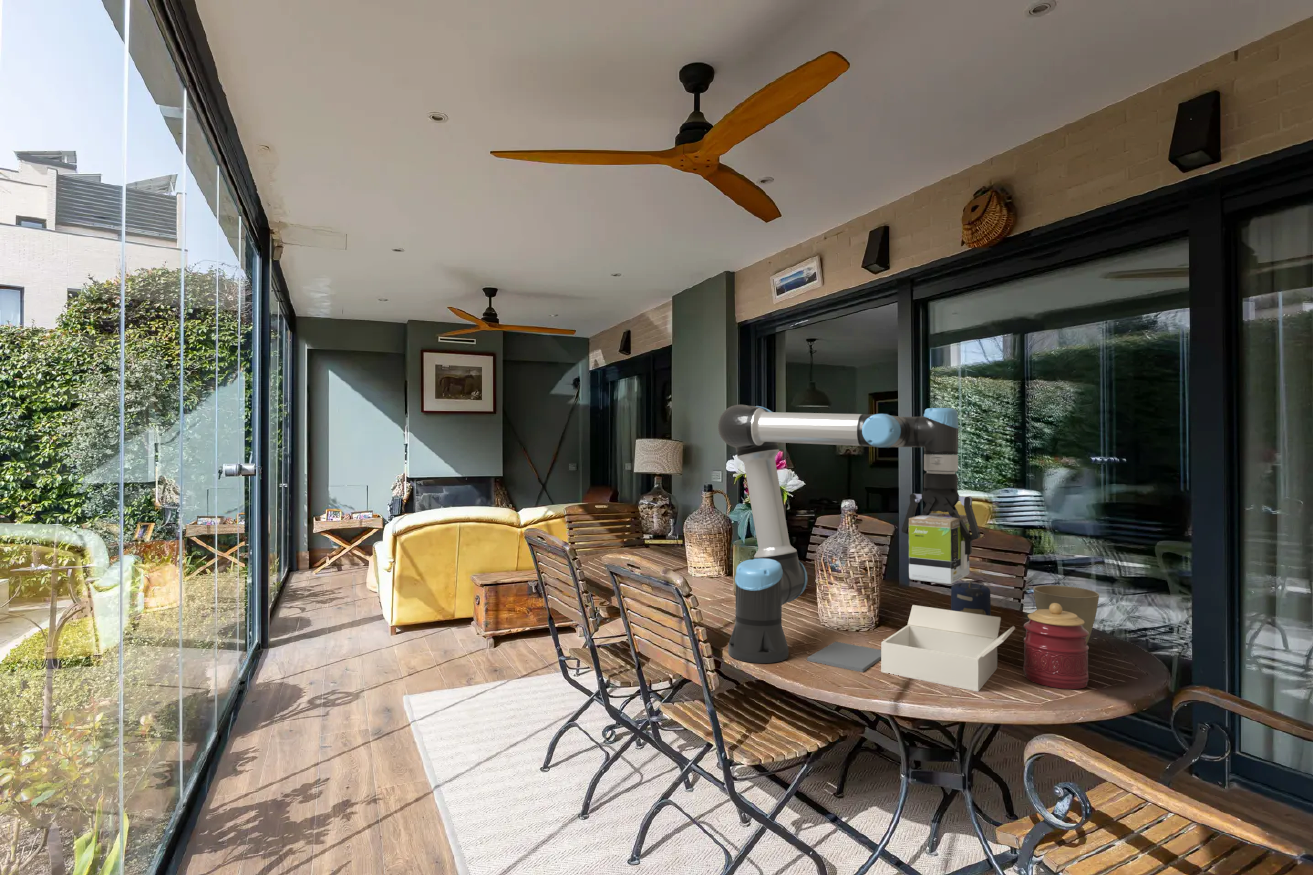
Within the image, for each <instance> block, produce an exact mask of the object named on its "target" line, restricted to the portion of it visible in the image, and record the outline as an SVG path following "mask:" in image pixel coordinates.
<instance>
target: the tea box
mask: <svg viewBox="0 0 1313 875" xmlns="http://www.w3.org/2000/svg"><path fill="white" fill-rule="evenodd" d="M959 515H960V517H961V518H953V517H951V516H950V515H949V513H942V512H941V513H937V512H936V513H935V512H933V513H932V512H931V513H930V514H929V515H927V516H920V515H916V516H914V517H912V518H909V535H908V578H909V580H912V581H913V580H914V581H921V582H930V583H937V584H947V585H953V584H955V583H957V582H958V581H959V580H961V579H963V578H965V577H967V576H968V575H970V555H967V568H966V569H961V541H962V540H965V539H964V538H963V536H962V534H961V532H960V521H959V520H963V522H964V524H965V526H966V527H967V529H968V531H969V532H970V526H969V523H968V519H967V516H966V514H965V515H964V514H959Z"/></svg>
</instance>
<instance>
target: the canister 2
mask: <svg viewBox="0 0 1313 875" xmlns="http://www.w3.org/2000/svg"><path fill="white" fill-rule="evenodd" d="M1027 618H1028V619H1029V620H1028V621H1026V622H1024V624H1023V628H1024V629H1025V630H1026V631H1025V637H1024V638H1023V642H1024V644H1023V645H1024V649H1023V650H1024V656H1023V657H1024V659H1023V660H1024V663H1023V669H1022V670H1023V672H1024V677H1025V678H1026V679H1028V680H1029V681H1030V682H1032V683H1035V684H1038V685H1042V686H1046V687H1050V688H1056V689H1061V690H1063V689H1064V690H1080V689H1084V688H1086V687H1087V686H1088V682H1089V675H1090V674H1089V649H1090V648H1089V645H1088V643H1087V644H1086V637H1087V636H1088V635H1089V632H1088V631H1087V630H1086V629H1084V628H1083V626H1082V625H1083V624H1084V623H1085V622H1084V620H1082V619H1081V618H1079V617H1078V616H1077V615H1076V614H1074V613H1070V612H1066V611H1062V607H1061V605H1060V604H1058V603H1052V604H1051V605H1050V606H1049V609H1039V610H1037V609H1036V610H1034V611H1033V612H1031V613H1028V614H1027Z"/></svg>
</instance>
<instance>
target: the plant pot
mask: <svg viewBox="0 0 1313 875" xmlns="http://www.w3.org/2000/svg"><path fill="white" fill-rule="evenodd" d="M1033 596H1034V603H1035V607H1036V610H1039V609H1049V606H1050V605H1051V604H1052V603H1058V604H1060V605H1061V607H1062V611H1066V612H1070V613H1074V614H1076V615H1077V616H1078V617H1079V618H1081V619H1082V620H1084V622H1085V623H1084V624H1083V625H1082V626H1083V628H1084V629H1086V630H1087V631H1088V632H1089V635H1088V636H1087V637H1086V644H1087V645H1088V642H1089V640H1090V637H1091V634H1092V631H1093V627H1094V624H1095V620H1096V615H1097V611H1098V604H1099V600H1100V593H1099V592H1097V591H1095V590H1092V589H1087V588H1082V587H1077V586H1076V587H1075V586H1068V585H1057V584H1056V585H1053V584H1050V585H1048V584H1047V585H1046V584H1045V585H1036V586H1034V587H1033Z"/></svg>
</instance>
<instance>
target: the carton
mask: <svg viewBox="0 0 1313 875" xmlns="http://www.w3.org/2000/svg"><path fill="white" fill-rule="evenodd" d="M1001 621H1002V618H1001V616H994V615H991V616H987V615H980V614H973V613H966V612H959V611H952V610H951V609H945V608H938V607H929V606H923V605H915V604H912V606H911V610H910V614H909V618H908V621H907V625H905V626H903V627H902V628H901V629H899V630H898V631H896V632H895V633H893V634H892V635H890V636H888V637H887V638H885V639H884V640H882V641H881V642H880V644H881V646H880V647H881V648H880V650H881V661H880V665H881V666H880V673H884V674H888V673H890V674H889V675H893V674H894V675H893V676H898V675H899V677H903V678H908V679H913V680H919V681H923V682H928V683H933V684H939V685H943V686H948V687H954V688H958V689H963V690H967V691H972V692H973V691H974V692H979V691H980V690H981V689H982V688H983V686H984V685H985V684H986V683H987V681H988V680H989V679H990V678H991V677H992V675H993V674H994V673H995V672H996V670H997V669H998V646H1000V645H1001V644H1003V643H1004V641H1005V640H1007V638H1008V637H1009V636H1010V635H1011V634H1012V633H1013V632H1014V630H1016V627H1015V626H1014V625H1012V626H1011V627H1010V628H1009V629H1008V630H1006V631H1005V632H1003V633H1002V634H1001V635H1000V636H999V633H1000V628H1001Z"/></svg>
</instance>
